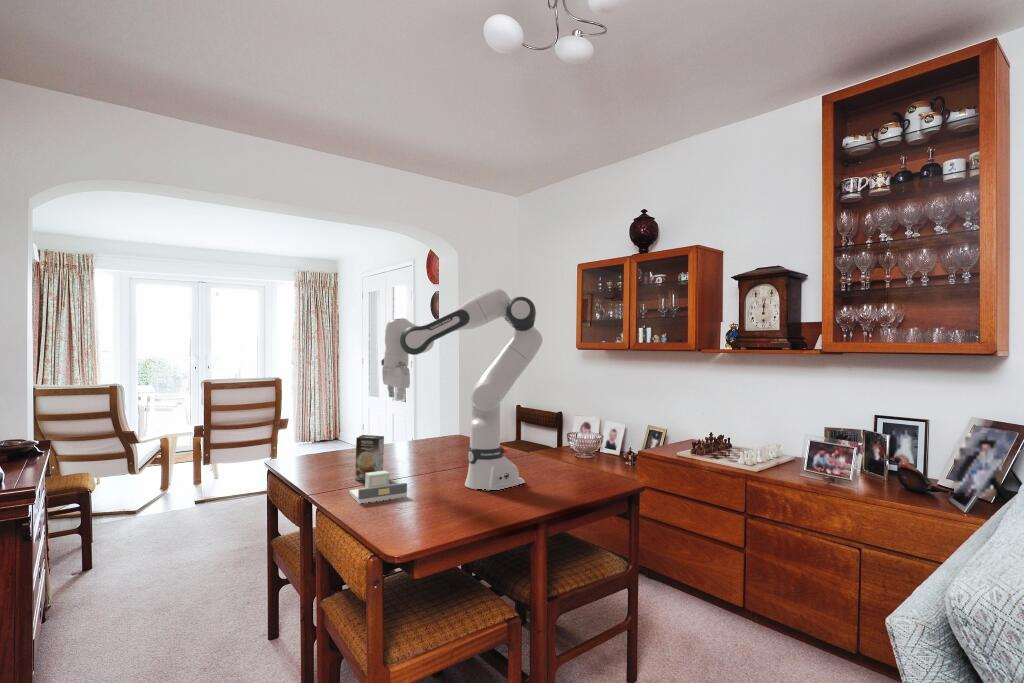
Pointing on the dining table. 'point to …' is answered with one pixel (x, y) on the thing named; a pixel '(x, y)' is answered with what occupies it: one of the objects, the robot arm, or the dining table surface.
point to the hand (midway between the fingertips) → (395, 398)
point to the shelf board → (379, 493)
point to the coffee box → (368, 455)
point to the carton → (376, 479)
